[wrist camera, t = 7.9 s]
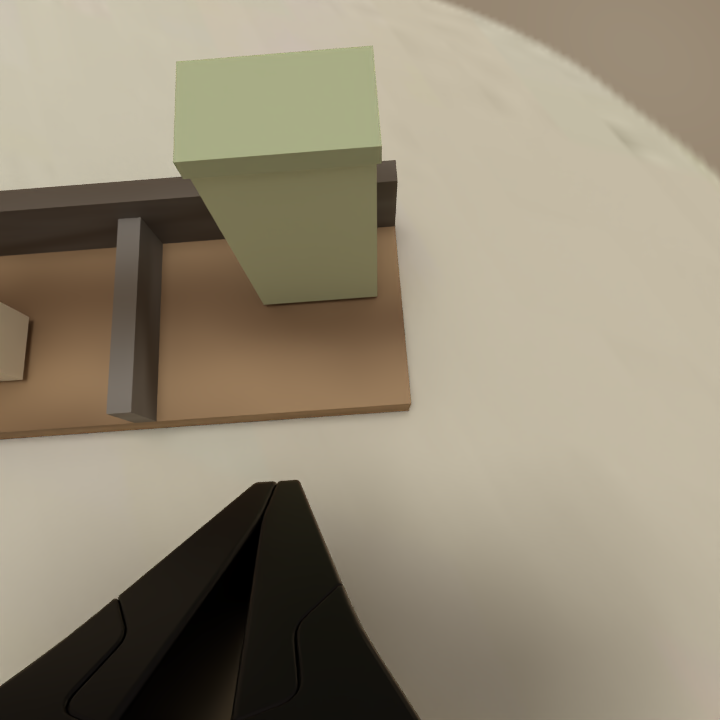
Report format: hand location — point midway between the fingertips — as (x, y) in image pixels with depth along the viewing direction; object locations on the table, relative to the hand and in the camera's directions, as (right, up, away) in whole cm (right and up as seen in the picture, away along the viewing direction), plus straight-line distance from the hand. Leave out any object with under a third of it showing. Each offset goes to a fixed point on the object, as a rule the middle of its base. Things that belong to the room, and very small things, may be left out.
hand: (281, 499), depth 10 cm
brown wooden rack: (-6, +4, +11) cm, 14 cm away
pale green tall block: (0, +6, +10) cm, 11 cm away
